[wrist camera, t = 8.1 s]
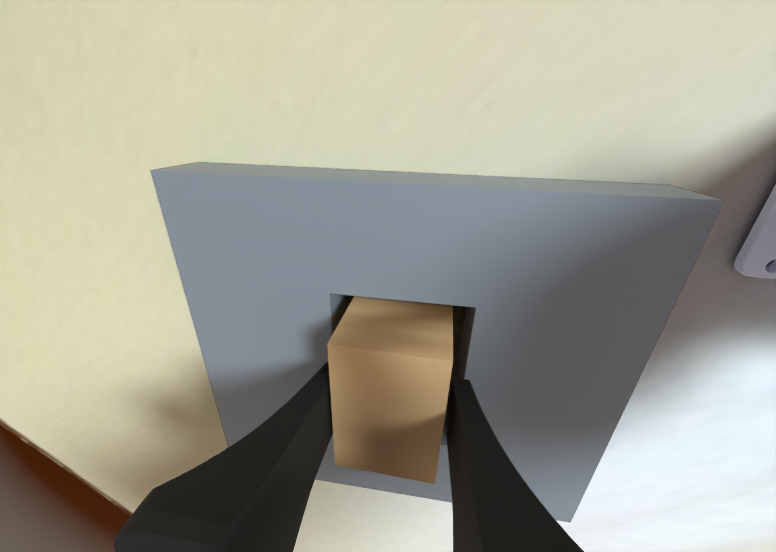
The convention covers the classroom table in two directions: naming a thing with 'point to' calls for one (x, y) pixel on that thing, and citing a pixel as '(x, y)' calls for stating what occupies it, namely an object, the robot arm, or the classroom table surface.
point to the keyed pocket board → (438, 294)
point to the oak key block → (391, 386)
